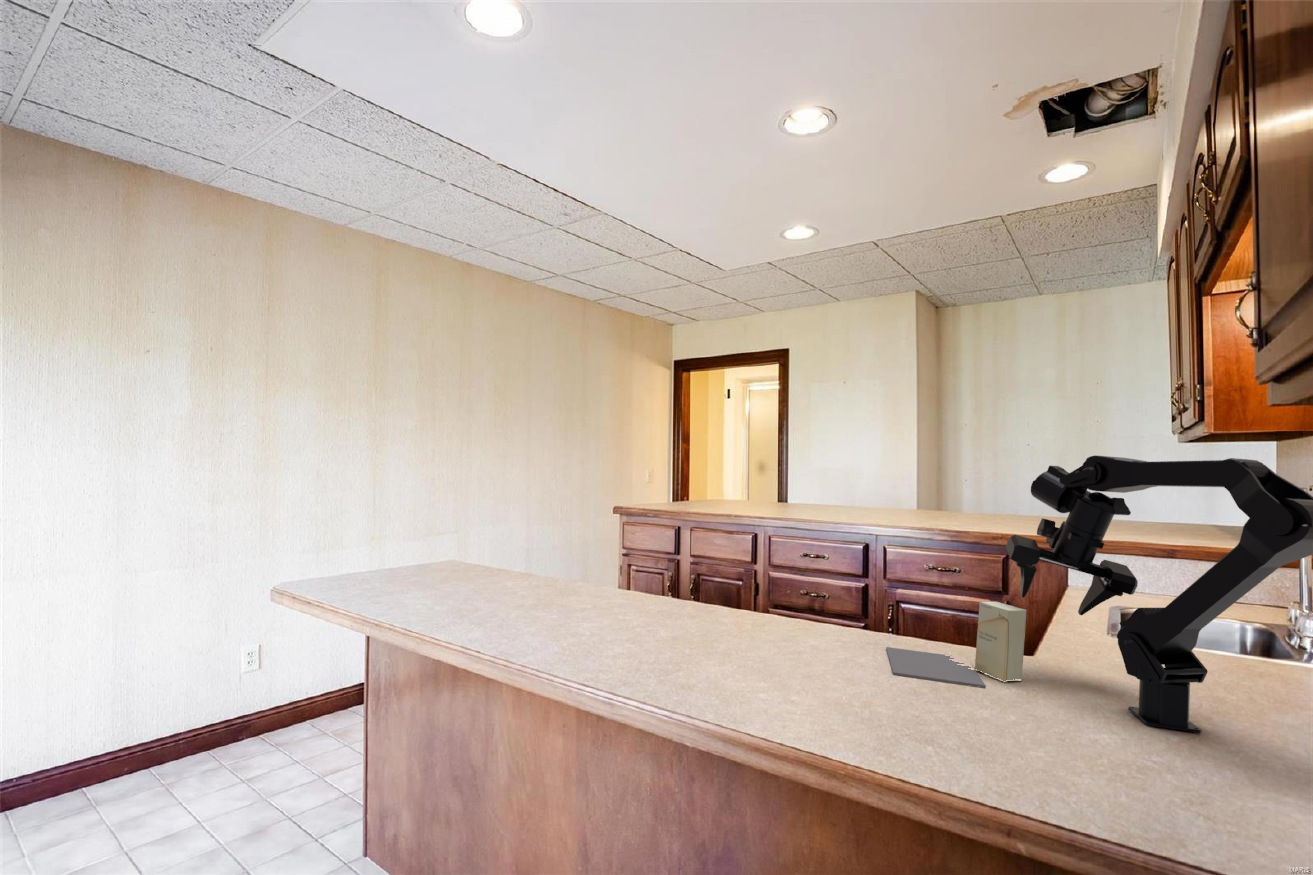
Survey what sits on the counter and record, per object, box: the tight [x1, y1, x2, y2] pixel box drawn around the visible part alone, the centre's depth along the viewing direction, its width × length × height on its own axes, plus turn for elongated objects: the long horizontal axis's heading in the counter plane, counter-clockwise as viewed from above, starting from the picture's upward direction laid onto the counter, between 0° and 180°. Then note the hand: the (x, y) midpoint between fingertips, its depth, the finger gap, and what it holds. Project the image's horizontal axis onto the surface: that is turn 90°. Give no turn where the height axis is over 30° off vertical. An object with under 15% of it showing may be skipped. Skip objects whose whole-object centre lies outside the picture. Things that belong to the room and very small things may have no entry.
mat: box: [885, 646, 987, 688], centre depth 111 cm, size 16×14×1 cm
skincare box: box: [974, 601, 1027, 681], centre depth 109 cm, size 6×4×12 cm
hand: (1050, 605), depth 111 cm, fingers open, 9 cm apart
